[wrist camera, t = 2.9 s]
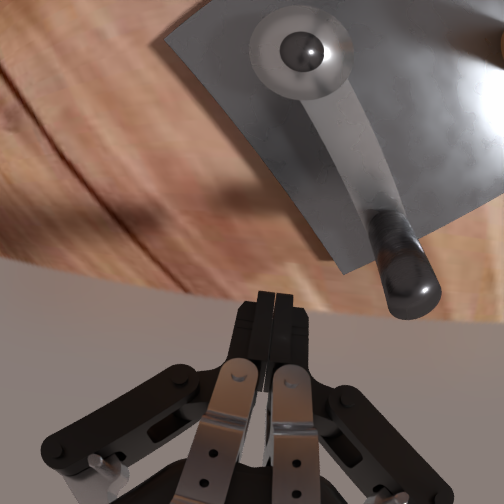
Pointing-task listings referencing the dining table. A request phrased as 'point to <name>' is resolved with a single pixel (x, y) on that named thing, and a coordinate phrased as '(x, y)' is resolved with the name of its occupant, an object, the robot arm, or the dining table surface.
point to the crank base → (372, 107)
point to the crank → (346, 142)
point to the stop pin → (502, 45)
